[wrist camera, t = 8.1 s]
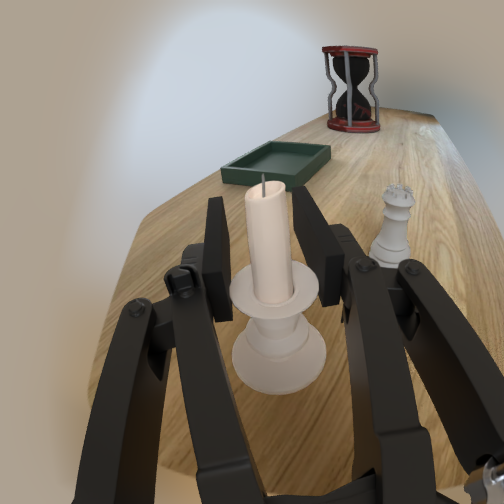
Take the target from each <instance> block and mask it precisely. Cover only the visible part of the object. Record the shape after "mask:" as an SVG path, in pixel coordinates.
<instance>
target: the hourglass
mask: <svg viewBox="0 0 504 504" xmlns="http://www.w3.org/2000/svg"><path fill="white" fill-rule="evenodd" d="M322 48H323V49H322V52H323V53H324V55H325V65H326V75H327V77H328V79H329V80H330V81H331V84H332V91H331V93H330V94H329V96H328V110H329V120H328V121H327V125H328V127H329V128H331V129H334V130H338V131H345V132H356V133H369V132H376V131H379V130H380V124H379V100H378V98H377V96H376V95H375V94H374V89H373V88H374V84H375V83H376V82H377V79H378V63H377V54H378V51H377V49H374V48H368V47H358V46H327V47H322ZM328 53H330V55H331V56H333V57H334V58H333V67H334V70H335V72H336V74H337V75H338V76H339V77H340V78H341V79H342V80H343V81H344V82H345V83H346V84H347V90H346V91H345V92H344V93H343V95H342V96H341V97H340V98H339V99H338V102H337V104H336V115H337V116H336V117H335V118H332V96H333V94H334V93H335V92H336V88H337V86H336V83H335V81H334V80H333V79H332V77H331V76H330V68H329V59H328V58H329V57H328ZM371 55H373V62H374V78H373V81H372V82H371V83H370V85H369V91H370V94H371V95H372V97H373V98H374V100H375V121H373V120H372V119H371V107H370V104H369V102H368V100H367V99H366V98H365V97H364V96H363V95H362V93H360V91H359V90H358V89H357V86H358V85H359V84H360V83H361V82H362V81H363V80H364V79H365V77H366V76H367V74H368V72H369V67H370V65H369V60H368V59H367V58H370V56H371Z"/></svg>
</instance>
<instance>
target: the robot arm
mask: <svg viewBox="0 0 504 504" xmlns="http://www.w3.org/2000/svg"><path fill="white" fill-rule="evenodd" d="M292 203H293V226H294V231H295V234H296V236H297V239H298V242H299V244H300V247H301V249H302V252H303V255H304V257H305V260H306V263H307V265H308V267H309V268H310V269H311V270H312V271H313V272H314V273H315V275H316V277H317V279H318V282H319V292H318V296H319V298H320V301H321V304H322V307H327V306H333V305H338V304H339V302H340V295H341V298H342V300H343V302H344V304H343V311H342V317H341V323H343V321H344V326H345V334H346V343H347V352H348V361H349V372H350V383H351V395H352V410H353V428H354V460H353V465H352V482H350V483H348V484H346V485H344V486H342V487H340V488H338V489H336V490H334V491H332V492H330V493H328V494H326V495H323V496H299V495H277V496H267V493H266V490H265V488H264V485H263V482H262V480H261V477H260V475H259V472H258V469H257V466H256V464H255V461H254V458H253V455H252V452H251V449H250V446H249V443H248V440H247V437H246V433H245V430H244V427H243V424H242V421H241V418H240V414H239V411H238V408H237V405H236V401H235V398H234V395H233V391H232V388H231V385H230V381H229V378H228V374H227V371H226V367H225V364H224V360H223V356H222V353H221V349H220V345H219V342H218V338H217V334H216V330H215V327H214V324H213V316H214V319H215V323H216V322H225V321H233V311H232V300H231V298H230V289H229V287H230V284H231V266H230V239H229V232H228V227H227V221H226V215H225V210H224V204H223V198H222V196H221V197H214V198H209V200H208V209H207V219H206V229H205V239H204V243H198V244H191V245H188V246H187V247H186V248H185V250H184V251H183V254H182V260H181V265H178V266H175V267H173V268H171V269H170V270H168V271H167V273H166V274H165V276H164V281H165V284H166V287H167V289H168V292H169V294H170V296H169V297H167V298H166V299H164V300H161V301H159V302H156V303H153V304H152V303H151V302H150V300H148V299H146V298H137V299H134V300H132V301H130V302H128V303H127V304H126V305H125V306H124V308H123V309H122V312H121V315H120V317H119V320H118V323H117V326H116V329H115V332H114V335H113V338H112V341H111V344H110V347H109V350H108V353H107V356H106V360H105V363H104V366H103V370H102V373H101V376H100V380H99V383H98V387H97V391H96V394H95V398H94V402H93V406H92V410H91V414H90V418H89V422H88V426H87V431H86V435H85V440H84V445H83V450H82V455H81V460H80V465H79V471H78V477H77V484H76V490H75V497H74V500H73V502H72V503H71V504H154V497H155V483H156V471H157V460H158V450H159V441H160V432H161V423H162V415H163V408H164V400H165V393H166V386H167V379H168V372H169V366H170V360H171V353H172V348H175V347H176V352H177V359H178V366H179V372H180V379H181V385H182V391H183V397H184V402H185V408H186V413H187V419H188V424H189V429H190V434H191V438H192V443H193V448H194V452H195V456H196V461H197V466H198V470H197V473H196V481H197V486H198V490H199V494H200V498H201V502H202V504H459V503H457V502H455V501H453V500H452V499H450V498H448V497H446V496H444V495H443V494H441V493H439V492H437V491H436V482H435V471H434V461H433V452H432V445H431V438H430V435H429V432H428V430H427V429H426V428H424V427H422V426H421V424H420V422H419V417H418V411H417V406H416V400H415V395H414V390H413V385H412V380H411V375H410V371H409V366H408V362H407V357H406V353H405V349H406V351H407V352H408V354H409V356H410V358H411V360H412V362H413V364H414V366H415V368H416V370H417V372H418V374H419V376H420V378H421V379H422V382H423V384H424V386H425V388H426V390H427V392H428V394H429V396H430V398H431V400H432V402H433V404H434V406H435V409H436V411H437V413H438V415H439V417H440V419H441V422H442V424H443V426H444V428H445V431H446V433H447V435H448V438H449V440H450V443H451V445H452V447H453V450H454V452H455V454H456V456H457V458H458V460H459V462H460V464H461V465H462V467H463V469H464V470H465V471H466V473H467V474H468V475H469V477H468V480H467V481H466V482H465V484H464V491H465V492H466V493H469V494H470V496H471V501H472V502H471V504H504V377H503V375H502V373H501V371H500V370H499V368H498V366H497V365H496V363H495V362H494V360H493V358H492V357H491V355H490V354H489V352H488V350H487V349H486V347H485V346H484V344H483V343H482V341H481V340H480V338H479V337H478V335H477V334H476V332H475V331H474V329H473V328H472V326H471V325H470V324H469V322H468V321H467V319H466V318H465V317H464V315H463V314H462V312H461V311H460V310H459V308H458V307H457V306H456V304H455V303H454V302H453V300H452V299H451V298H450V296H449V295H448V294H447V292H446V291H445V290H444V289H443V287H442V286H441V285H440V283H439V282H438V281H437V280H436V278H435V277H434V276H433V275H432V274H431V272H430V271H429V270H428V269H427V267H426V266H425V265H424V264H422V263H421V262H419V261H417V260H414V259H405V260H402V261H401V262H400V263H399V264H398V268H386V267H381V266H380V265H379V263H378V262H377V261H376V260H375V259H373V258H371V257H368V256H366V255H365V253H364V252H363V250H362V249H361V247H360V245H359V244H358V242H357V241H356V239H355V238H354V236H353V235H352V233H351V232H350V230H349V229H348V228H347V227H345V226H344V225H342V224H334V225H328V223H327V222H326V220H325V218H324V216H323V215H322V213H321V211H320V210H319V208H318V206H317V205H316V203H315V201H314V200H313V198H312V197H311V195H310V193H309V192H308V190H307V188H306V187H305V186H299V187H292ZM404 347H405V349H404Z"/></svg>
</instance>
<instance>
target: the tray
mask: <svg viewBox="0 0 504 504" xmlns="http://www.w3.org/2000/svg"><path fill="white" fill-rule="evenodd" d="M330 159H331V146H329V145H319V144H309V143H296V142H281V141H268V142H267V143H265V144H263V145H261V146H259V147H257V148H255V149H253V150H252V151H250V152H248V153H246V154H244V155H242V156H241V157H239V158H237V159H235V160H233V161H232V162H230V163H228V164H226V165H225V166H223V167H221V168H220V169H221V175H222V181H223V183H230V184H238V185H246V186H255V185H258V184H260V183H262V174H263V173H264V178H265V182H268V181H280V182H283V183H284V184H285V191H290V192H292V187H299V186H303V185H304V184H305V183H306V182H307V181H308V180H309V179H310V178H311V177H312V176H313V175H314V174H315V173H316V172H317V171H319V170H320V169H321V168H322V167H323V166H324V165H325V164H326V163H327V162H328V161H329V160H330Z"/></svg>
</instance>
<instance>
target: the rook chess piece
mask: <svg viewBox="0 0 504 504" xmlns="http://www.w3.org/2000/svg"><path fill="white" fill-rule="evenodd" d="M410 189H411V188H410V187H408V186H406V187H405V190H404V189H402V184H397V188H394V184H389V186H387V190H386V191H385V192H384V193H383V194H382V199H383V200H384V202H385V204H386V207H385V208H384V209H383V214H384V221H383V224H382V228H381V231H380V233H379V234H378V235H377V237H376V238H375V239H374V240H373V242H372V244H371V250H370V253H369V257H371V258H373V259H375V260H376V261H377V262H378V263H379V265H380V266H381V267H386V268H398V264H399V263H400V262H401V261H402V260H405V259H409V257H410V246H409V245H408V243H409V241H408V240H407V223H408V219H409V218H410V217H411V214H410V212H409V209H410V208H411V207H412V206H413V205H414V204H415V199H414V197H413V196H412V195H413V190H410Z"/></svg>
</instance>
